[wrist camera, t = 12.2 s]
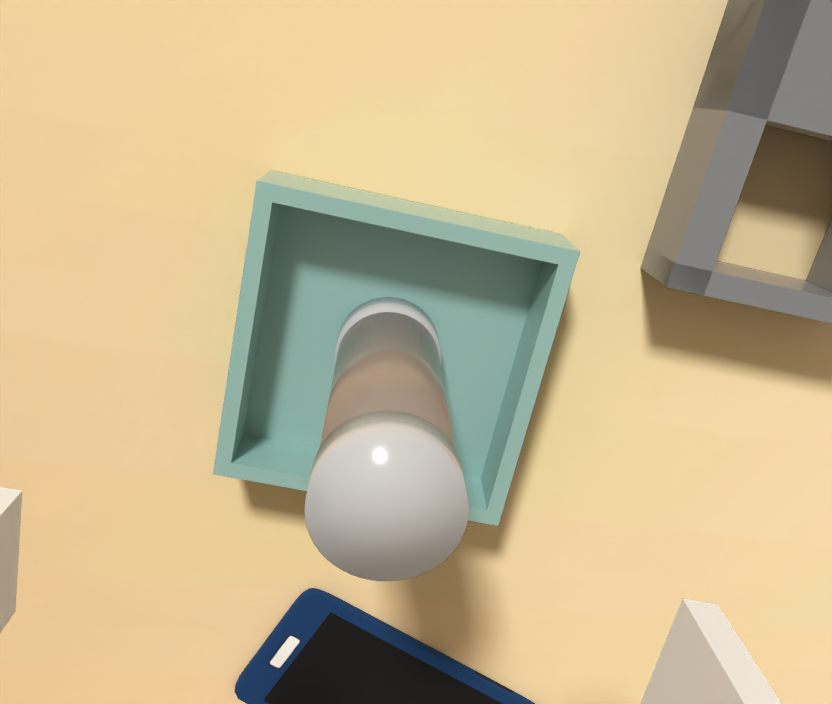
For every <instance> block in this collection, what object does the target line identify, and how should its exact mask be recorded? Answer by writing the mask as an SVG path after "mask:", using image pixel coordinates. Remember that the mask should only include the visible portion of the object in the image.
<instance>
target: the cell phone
mask: <svg viewBox="0 0 832 704" xmlns="http://www.w3.org/2000/svg"><path fill="white" fill-rule="evenodd" d="M235 693H236V695H237V697H238V699H240V700H241V701H243V702H245V703H247V704H535V703H533V702H531V701H530V700H528V699H527V698H525V697H523V696H521V695H519V694H518V693H516V692H514V691H512V690H510V689H508V688H506V687H505V686H503V685H501V684H499V683H497V682H495V681H493V680H491V679H490V678H488V677H486V676H484V675H482V674H480V673H478V672H476V671H475V670H473V669H471V668H469V667H467V666H465V665H463V664H461V663H459V662H458V661H456V660H454V659H452V658H450V657H448V656H446V655H444V654H443V653H441V652H439V651H437V650H435V649H433V648H431V647H429V646H428V645H426V644H424V643H422V642H420V641H418V640H416V639H414V638H413V637H411V636H409V635H407V634H405V633H403V632H401V631H399V630H397V629H396V628H394V627H392V626H390V625H388V624H386V623H384V622H382V621H381V620H379V619H377V618H375V617H373V616H371V615H369V614H367V613H366V612H364V611H362V610H360V609H358V608H356V607H354V606H352V605H350V604H349V603H347V602H345V601H343V600H341V599H339V598H337V597H335V596H333V595H331V594H329V593H327V592H325V591H322V590H319V589H315V588H310V589H308V590H306V591H305V592H303V593H302V594H301V595H300V596H299V597H298V598H297V599H296V600H295V602H294V603H293V605H292V606H291V607H290V609H289V610H288V611H287V613H286V614H285V615H284V617H283V618H282V619H281V621H280V622H279V623H278V625H277V626H276V627H275V629H274V630H273V631H272V633H271V634H270V636H269V637H268V638H267V640H266V641H265V642H264V644H263V645H262V646H261V648H260V649H259V650H258V652H257V653H256V654H255V656H254V657H253V658H252V660H251V661H250V663H249V664H248V665H247V667H246V668H245V669H244V671H243V672H242V673H241V675H240V676H239V679H238V681H237V683H236V685H235Z"/></svg>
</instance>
